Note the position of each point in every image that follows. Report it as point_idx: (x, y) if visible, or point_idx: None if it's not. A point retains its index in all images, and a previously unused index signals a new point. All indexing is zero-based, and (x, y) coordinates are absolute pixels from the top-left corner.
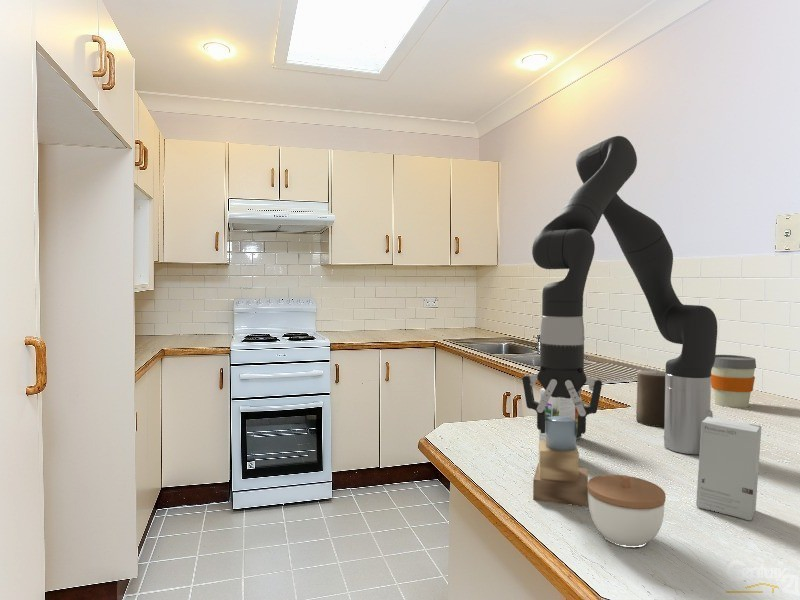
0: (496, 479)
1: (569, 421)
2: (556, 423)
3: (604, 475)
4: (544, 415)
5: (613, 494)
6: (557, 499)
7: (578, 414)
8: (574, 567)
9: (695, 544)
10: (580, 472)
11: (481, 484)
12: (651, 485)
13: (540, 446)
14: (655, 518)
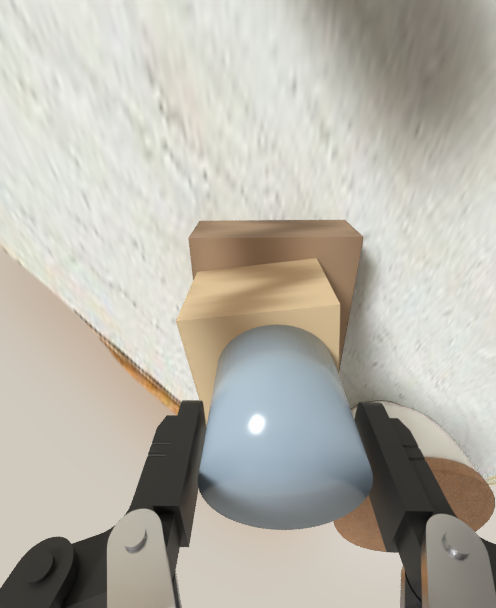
0: (86, 248)
1: (330, 499)
2: (261, 524)
3: None
4: (189, 534)
5: (375, 545)
6: None
7: (403, 526)
8: None
9: (487, 412)
10: (332, 280)
11: (69, 295)
12: (477, 507)
13: (199, 391)
14: None
